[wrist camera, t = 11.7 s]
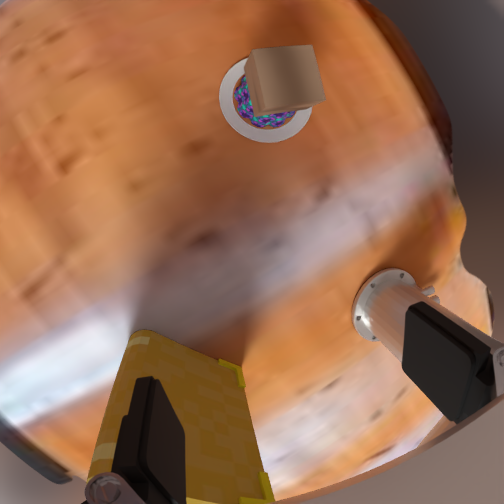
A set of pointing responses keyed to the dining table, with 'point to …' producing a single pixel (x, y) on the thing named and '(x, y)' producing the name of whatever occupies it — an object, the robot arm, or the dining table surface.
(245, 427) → the book
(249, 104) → the pudding
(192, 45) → the dining table surface
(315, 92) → the walnut cube
